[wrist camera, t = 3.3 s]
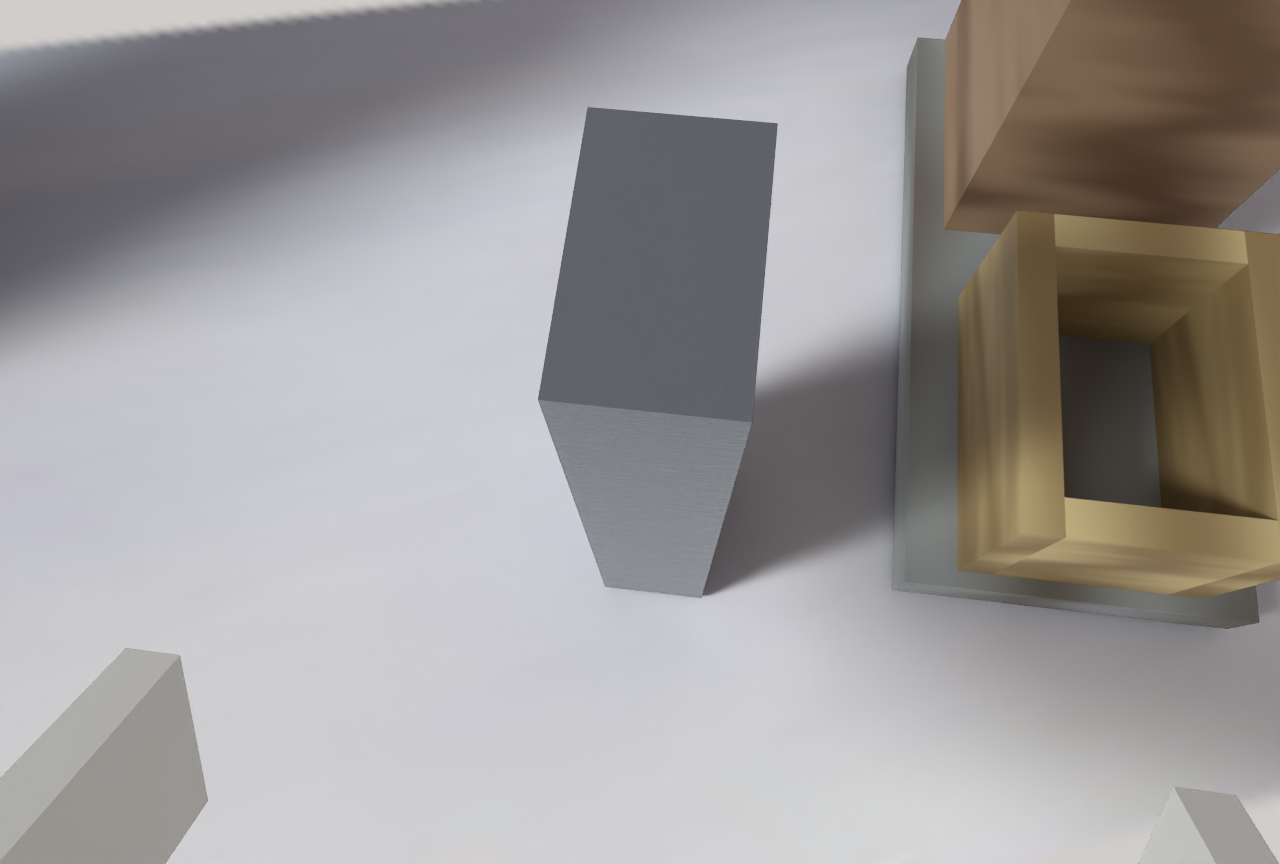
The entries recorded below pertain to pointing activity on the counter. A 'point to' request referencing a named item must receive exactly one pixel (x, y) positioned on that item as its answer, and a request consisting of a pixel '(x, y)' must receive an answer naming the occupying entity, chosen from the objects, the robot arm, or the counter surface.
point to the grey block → (659, 337)
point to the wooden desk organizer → (1091, 310)
